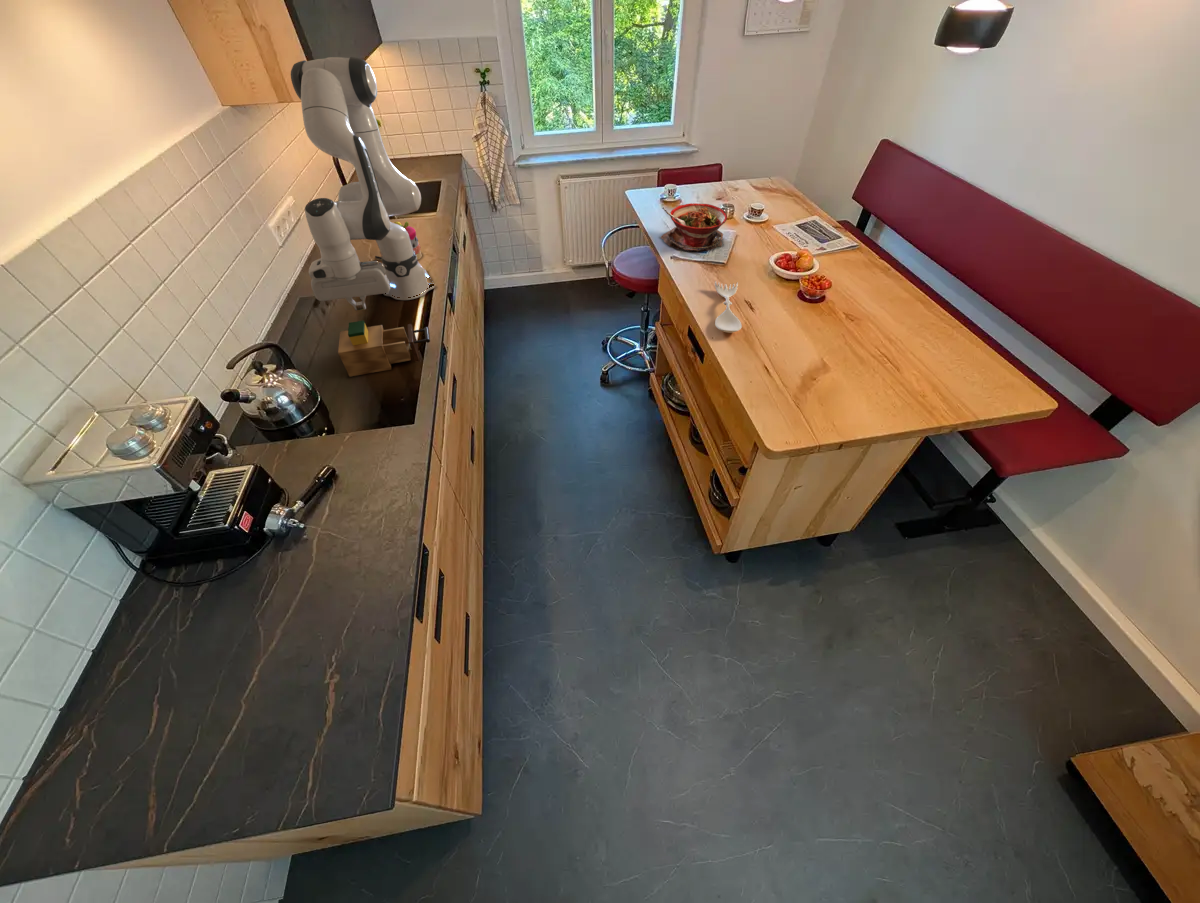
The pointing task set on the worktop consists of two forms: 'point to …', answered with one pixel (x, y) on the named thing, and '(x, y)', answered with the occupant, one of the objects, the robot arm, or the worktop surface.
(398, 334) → the drawer
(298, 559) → the worktop surface
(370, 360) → the cabinet
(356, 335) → the sponge
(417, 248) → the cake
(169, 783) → the worktop surface
